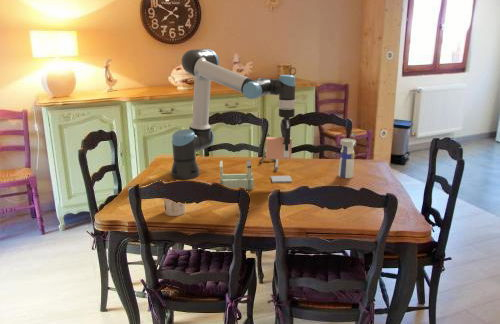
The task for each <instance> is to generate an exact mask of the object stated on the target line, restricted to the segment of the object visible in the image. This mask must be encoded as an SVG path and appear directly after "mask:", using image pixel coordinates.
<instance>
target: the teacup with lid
mask: <svg viewBox="0 0 500 324" xmlns="http://www.w3.org/2000/svg"><path fill="white" fill-rule="evenodd" d="M163 202H164V213H165V214H166V216H170V217H177V216H181V215H184V214H185V213H186V211H187V209H186V203H185V204H182V203H176V202H173V201H171V200H169V199H164V198H163Z"/></svg>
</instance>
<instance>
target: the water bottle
mask: <svg viewBox="0 0 500 324" xmlns="http://www.w3.org/2000/svg"><path fill="white" fill-rule="evenodd" d="M356 134H357V132H355V131H353V132H352V133H351V135H352V136H351V138H342V139H340V140H339V141H340V142H339V143H340V145H341V150H340V153H341V154H340V157H339V165H338V166H339V167H338V168H339V169H338V174H337V175H338V177H339V178H342V179H353V178H354V166H355V165H354V164H355V163H354V162H355V161H354V159H355V158H356V153H355V150H354V147H356V146H357V140H356V139H354V138H356Z"/></svg>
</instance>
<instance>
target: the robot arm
mask: <svg viewBox="0 0 500 324" xmlns="http://www.w3.org/2000/svg"><path fill="white" fill-rule="evenodd" d="M180 63H181V66H182V69H183V70H184V71H185V72H186V73H187V74H189V75H191V76H192V77H193V78H194V83H193V103H192V104H193V105H192V122H191V123H190V124H189V129H182V130H181V129H179V130H177V131H174V133H173V134H172V136H171V137H172V139H171V143H172V157H173V159H172V160H173V163H172V166H171V170H170V176H171V178H174V179H178V180H179V179H180V180H187V179H194V178H197V177H199V176H200V174H201V173H200V171H201V170H200V168H199V165H198V162H197V160H196V159H197V157H196V153H197V152H199V151H202V150H205V149H207V148H209V147H211V146H212V145H213V143H214V141H215V133H214V132H213V130H212V126H211V125H210V124H209V120H210V119H209V117H210V102H211V101H210V100H211V86H212V82H214V83H217V84H220V85H222V86H224V87H227V88H229V89H232V90H233V91H235V92H239V93H241V94H243V96H244V97H245V98H247V99H249V100H254V99H258V98H261V97H265V96H268V95H269V96H270V95H271V96H272V95H273V96H278V117H280V118H282V120H281V124H282V125H281V127H282V136H281V137H284V143H283V144H284V151H283V157H289V144H290V137H291V126H292V125H291V124H292V120H291V118H294V117H295V115H296V114H295V113H296V111H295V110H296V109H295V106H296V105H295V104H296V103H297V101H296V100H295V99H296V76H295V75H293V74H280V75H279V77H278V78H268V77H267V78H266V77H259V78H257V80H256V79H253V78H250V77H248V76H245V75H243V74H240V73H238V72H235V71H232V70H230V69H227V68H225V67H223V66H220V59H219V57H218V54H217V53H216V52H215V51H214V50H212V49H209V48H199V49H189V50H187V51H185V52H184V53H183V55H182V56H181V62H180Z"/></svg>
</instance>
